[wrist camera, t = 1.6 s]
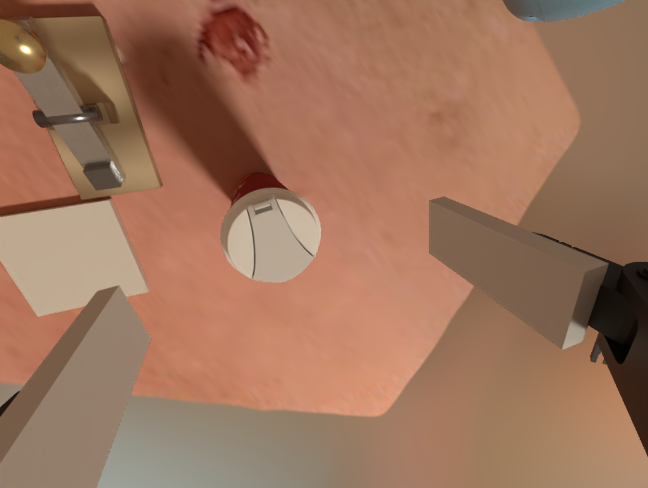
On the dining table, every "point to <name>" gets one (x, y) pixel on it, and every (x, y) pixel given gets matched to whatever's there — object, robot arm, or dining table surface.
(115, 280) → the tile
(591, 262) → the robot arm
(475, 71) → the dining table surface
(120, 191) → the lever base
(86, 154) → the lever
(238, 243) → the paper cup
